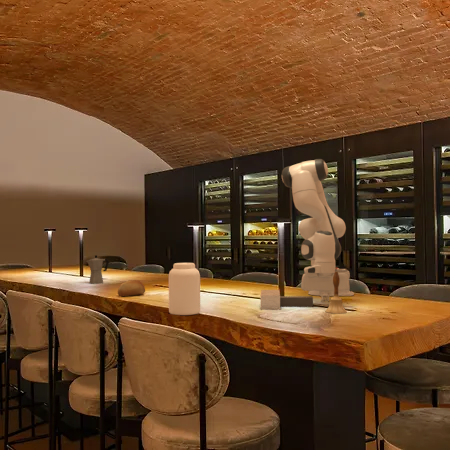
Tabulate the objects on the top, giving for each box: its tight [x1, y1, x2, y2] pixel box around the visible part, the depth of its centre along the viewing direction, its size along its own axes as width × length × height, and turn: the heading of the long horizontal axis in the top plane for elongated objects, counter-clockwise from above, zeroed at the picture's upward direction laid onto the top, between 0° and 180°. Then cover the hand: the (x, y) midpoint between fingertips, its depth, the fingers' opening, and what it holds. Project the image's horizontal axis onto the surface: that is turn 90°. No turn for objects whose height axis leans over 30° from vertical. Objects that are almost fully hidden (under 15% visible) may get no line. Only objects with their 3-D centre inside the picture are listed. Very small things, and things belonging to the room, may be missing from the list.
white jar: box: [168, 262, 201, 316], centre depth 207 cm, size 12×12×20 cm
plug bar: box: [280, 295, 314, 308], centre depth 223 cm, size 16×4×4 cm, turn 85°
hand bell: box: [325, 272, 348, 315], centre depth 205 cm, size 8×8×16 cm
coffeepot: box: [85, 255, 110, 285], centre depth 336 cm, size 15×9×18 cm, turn 125°
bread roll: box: [117, 279, 146, 298], centre depth 266 cm, size 10×15×8 cm, turn 128°
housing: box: [260, 289, 281, 311], centre depth 224 cm, size 8×20×6 cm, turn 175°
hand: (325, 301), depth 221 cm, fingers closed
